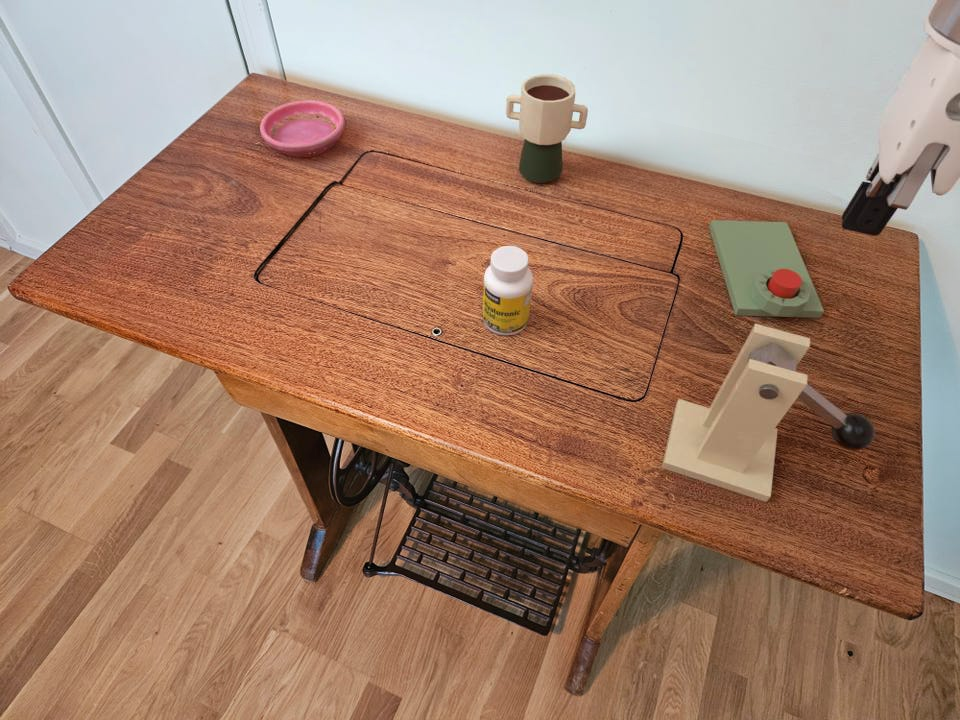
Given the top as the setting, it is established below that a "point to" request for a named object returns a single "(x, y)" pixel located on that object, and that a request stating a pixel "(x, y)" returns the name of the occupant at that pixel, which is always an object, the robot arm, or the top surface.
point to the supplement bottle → (507, 291)
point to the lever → (822, 403)
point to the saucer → (303, 128)
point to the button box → (762, 268)
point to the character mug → (545, 124)
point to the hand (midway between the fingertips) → (859, 226)
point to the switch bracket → (738, 420)
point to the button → (784, 283)
